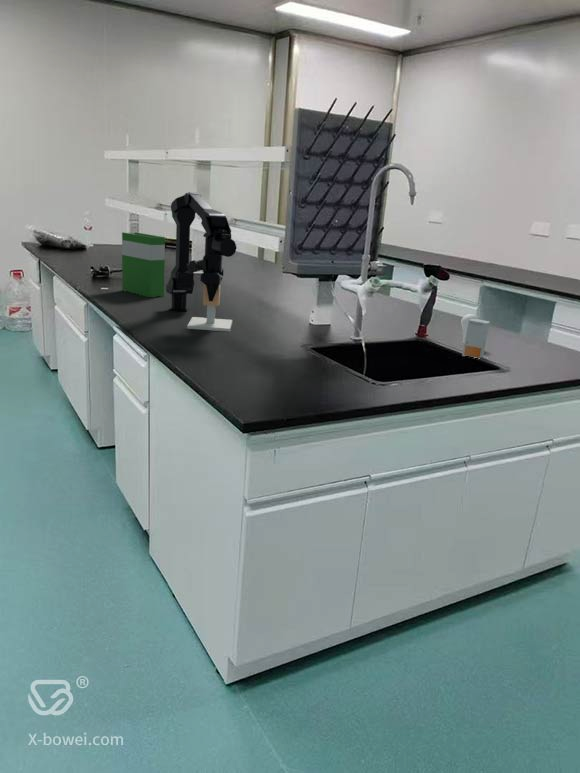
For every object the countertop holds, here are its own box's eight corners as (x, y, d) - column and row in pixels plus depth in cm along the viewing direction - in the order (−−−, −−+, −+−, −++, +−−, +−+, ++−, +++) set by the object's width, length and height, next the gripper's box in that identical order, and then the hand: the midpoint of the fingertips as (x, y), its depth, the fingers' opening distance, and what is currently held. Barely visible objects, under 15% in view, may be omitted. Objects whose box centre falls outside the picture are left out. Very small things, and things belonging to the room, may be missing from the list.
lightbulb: (465, 347, 204) (471, 316, 200) (453, 343, 209) (458, 312, 205) (478, 347, 206) (484, 316, 203) (466, 342, 211) (472, 312, 208)
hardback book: (122, 290, 252) (122, 232, 244) (136, 289, 257) (136, 232, 250) (149, 297, 242) (150, 237, 235) (163, 296, 248) (164, 237, 240)
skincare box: (461, 356, 192) (468, 319, 188) (464, 353, 195) (471, 318, 192) (480, 360, 189) (487, 323, 185) (483, 357, 193) (490, 321, 189)
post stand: (192, 319, 209) (193, 297, 207) (232, 322, 210) (233, 300, 208) (187, 328, 196) (188, 304, 194) (229, 331, 197) (231, 307, 195)
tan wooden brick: (204, 302, 203) (205, 282, 201) (219, 303, 204) (220, 284, 202) (202, 305, 198) (203, 285, 196) (218, 306, 199) (219, 286, 197)
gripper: (192, 248, 204) (190, 293, 209) (185, 253, 186) (183, 302, 191) (224, 250, 205) (222, 295, 210) (220, 256, 187) (218, 305, 192)
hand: (211, 299), depth 201 cm, fingers closed on tan wooden brick, 5 cm apart
